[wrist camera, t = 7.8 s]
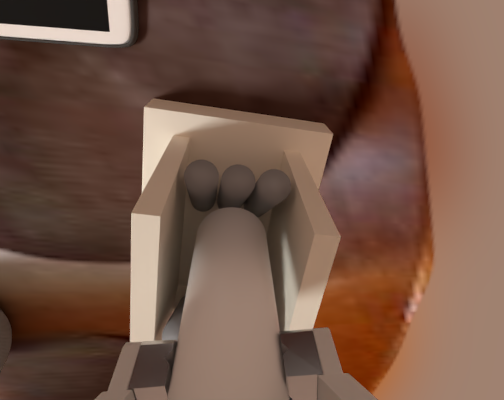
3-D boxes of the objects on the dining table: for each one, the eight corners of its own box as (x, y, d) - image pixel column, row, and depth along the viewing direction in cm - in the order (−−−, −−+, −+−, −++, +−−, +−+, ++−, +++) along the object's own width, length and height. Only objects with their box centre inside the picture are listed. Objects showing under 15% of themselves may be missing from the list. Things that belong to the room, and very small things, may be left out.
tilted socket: (283, 290, 30) (310, 449, 19) (146, 277, 29) (91, 438, 18) (324, 123, 24) (400, 213, 13) (153, 98, 23) (74, 173, 12)
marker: (269, 265, 18) (313, 578, 8) (199, 270, 18) (153, 592, 8) (266, 202, 16) (316, 493, 6) (189, 207, 16) (116, 509, 6)
